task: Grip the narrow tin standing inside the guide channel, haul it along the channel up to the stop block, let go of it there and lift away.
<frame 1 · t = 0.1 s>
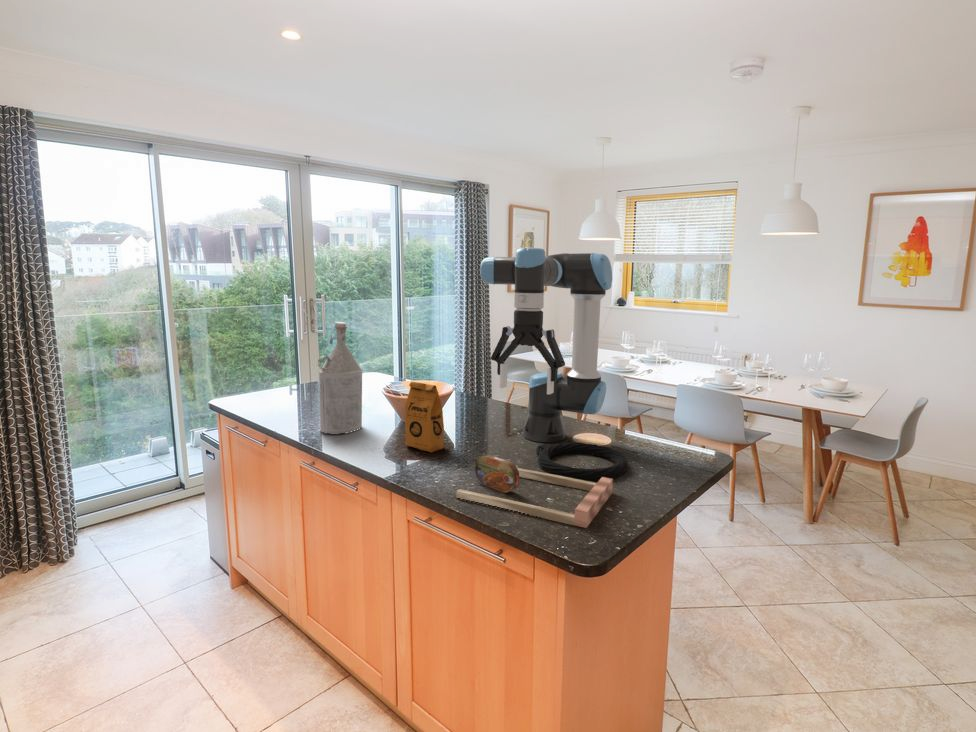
hand: (526, 390, 146), 28 cm above the worktop, tool pointing down, fingers open, 13 cm apart
tin: (496, 488, 153), on the worktop
grey jug bottle: (341, 430, 204), on the worktop
cable lock: (578, 466, 172), on the worktop
stop channel: (530, 494, 148), on the worktop
coffee package: (425, 448, 185), on the worktop
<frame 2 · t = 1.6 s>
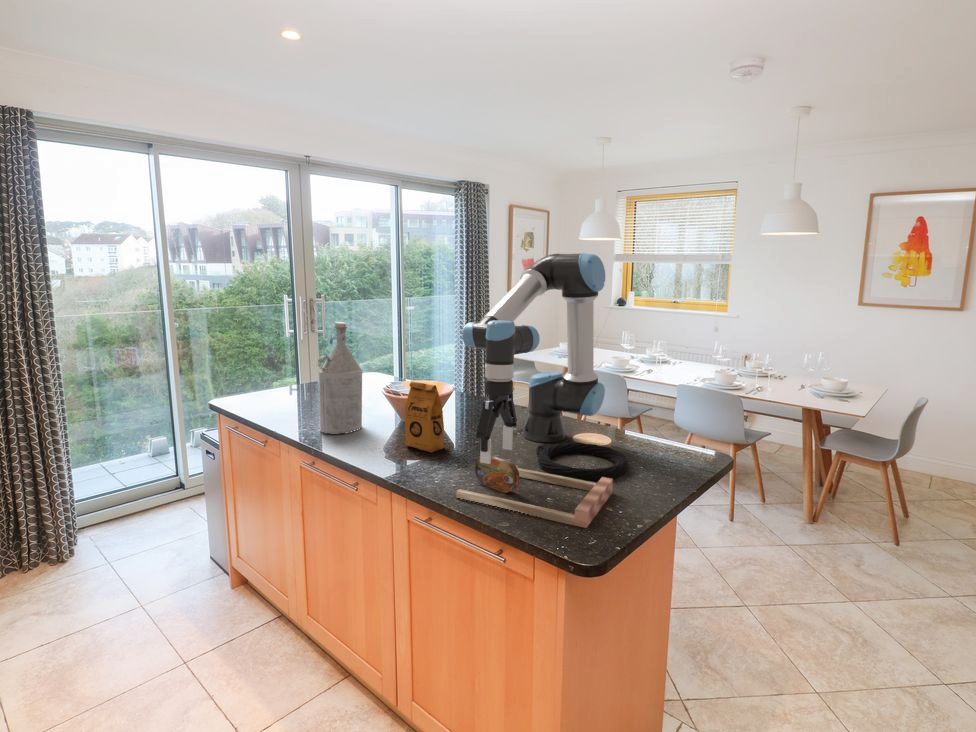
hand: (496, 455, 151), 9 cm above the worktop, tool pointing down, fingers open, 13 cm apart
nothing on the worktop moved.
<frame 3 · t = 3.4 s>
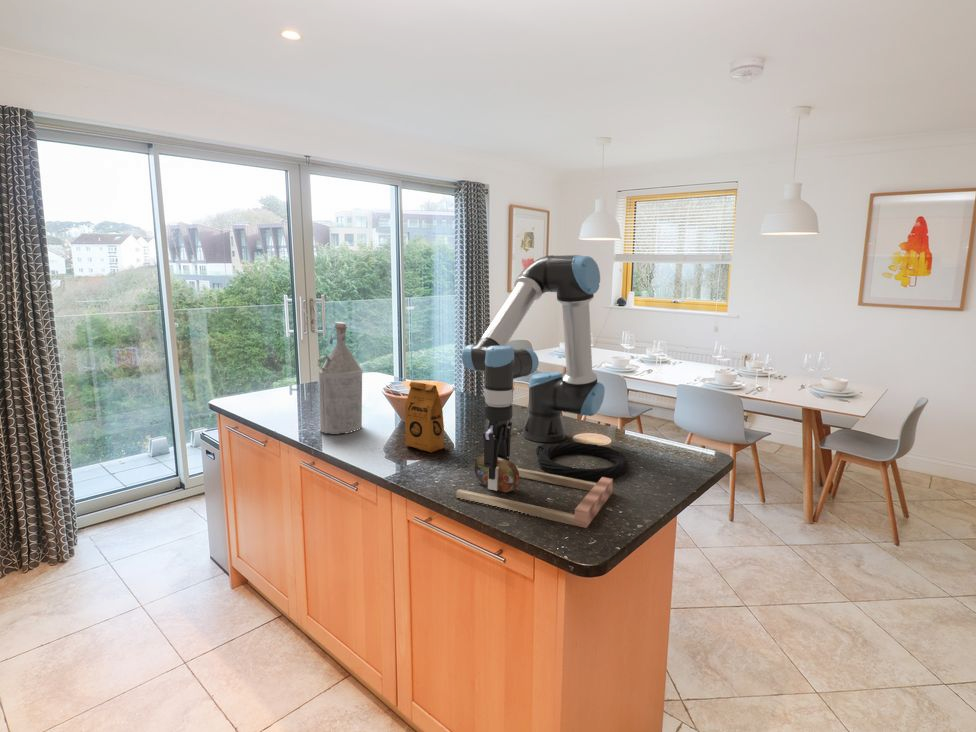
hand: (496, 486, 153), 0 cm above the worktop, tool pointing down, fingers closed on tin, 4 cm apart
tin: (497, 487, 153), on the worktop, touching gripper
everything else where it was.
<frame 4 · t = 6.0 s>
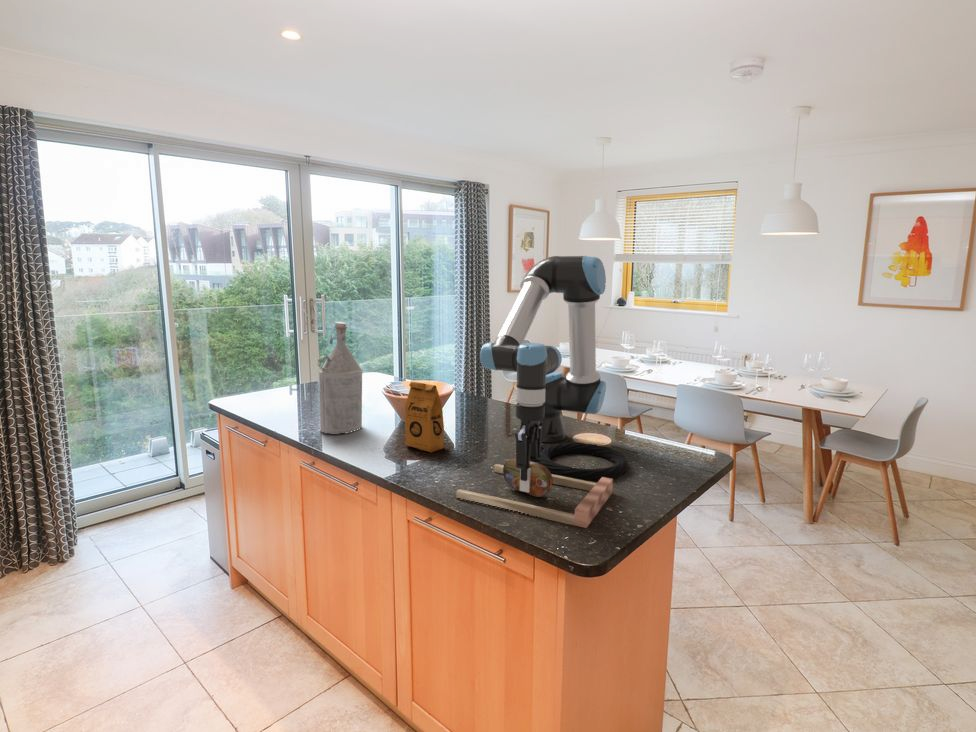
hand: (527, 488, 148), 2 cm above the worktop, tool pointing down, fingers closed on tin, 3 cm apart
tin: (527, 491, 149), point 1 cm above the worktop, touching gripper
everything else where it was.
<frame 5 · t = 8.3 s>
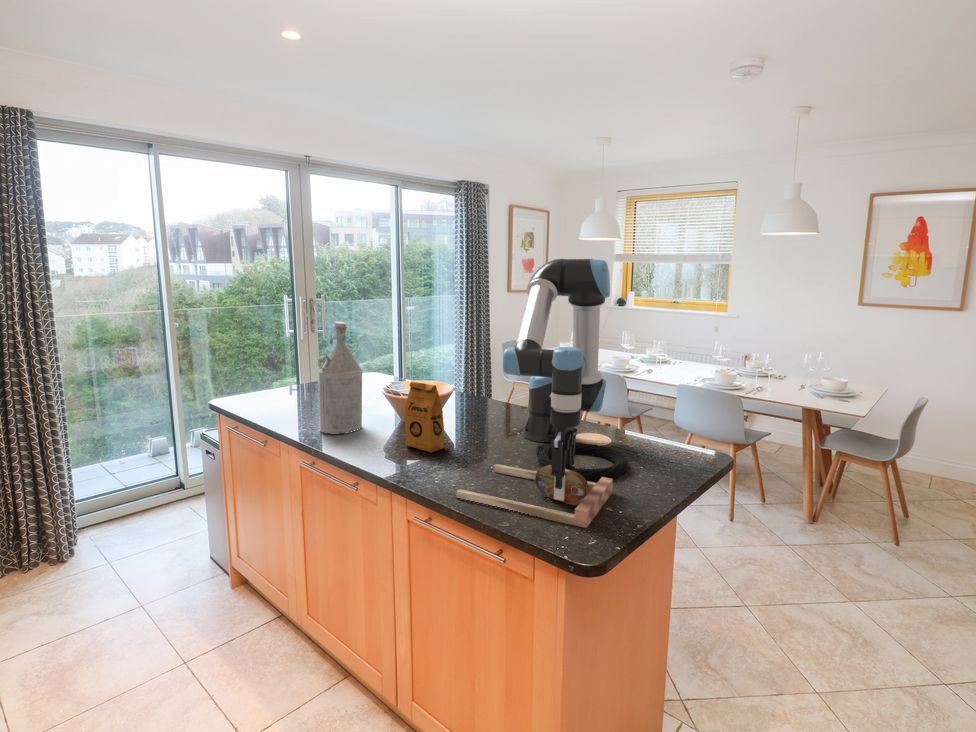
hand: (561, 496, 144), 1 cm above the worktop, tool pointing down, fingers closed on tin, 3 cm apart
tin: (561, 499, 145), on the worktop, touching gripper
everything else where it was.
when the fingers open (1 cm above the worktop, at t = 8.7 s): tin moves 5 cm, point 2 cm above the worktop.
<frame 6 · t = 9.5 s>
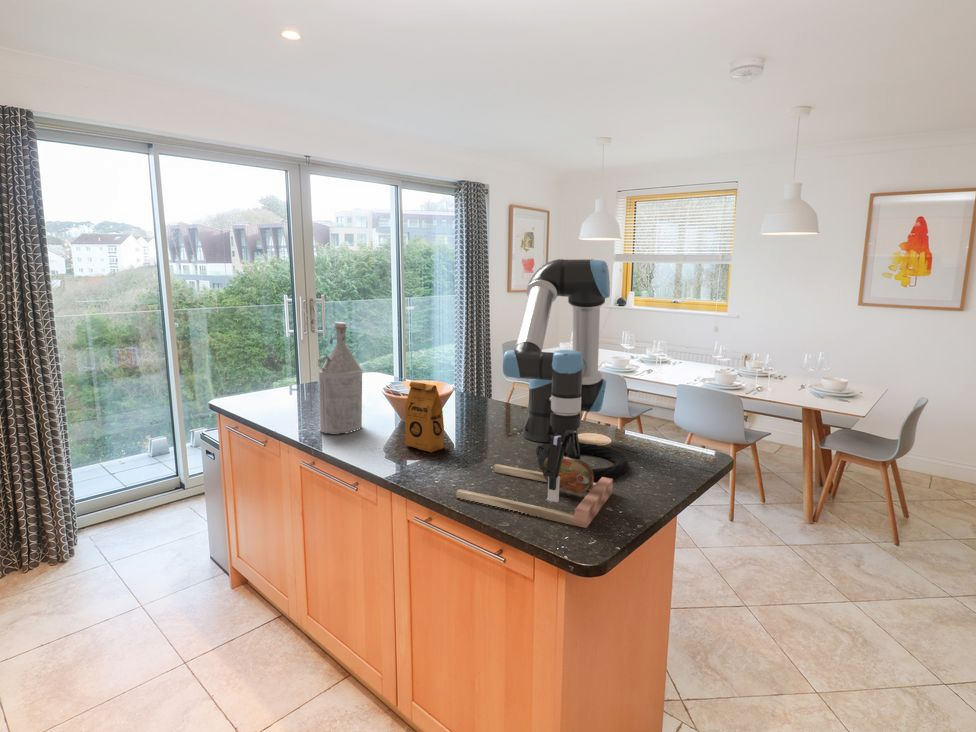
hand: (562, 491, 144), 3 cm above the worktop, tool pointing down, fingers open, 13 cm apart
tin: (567, 488, 149), point 2 cm above the worktop, touching gripper
everything else where it was.
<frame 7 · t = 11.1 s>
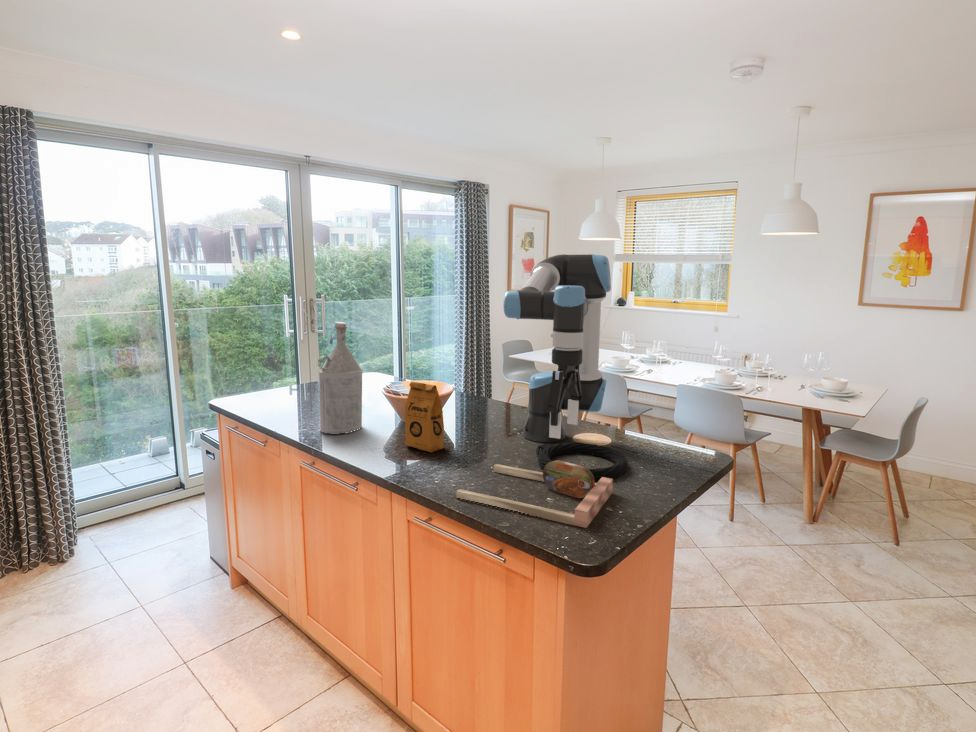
hand: (563, 430, 142), 19 cm above the worktop, tool pointing down, fingers open, 13 cm apart
tin: (568, 493, 150), on the worktop
everything else where it was.
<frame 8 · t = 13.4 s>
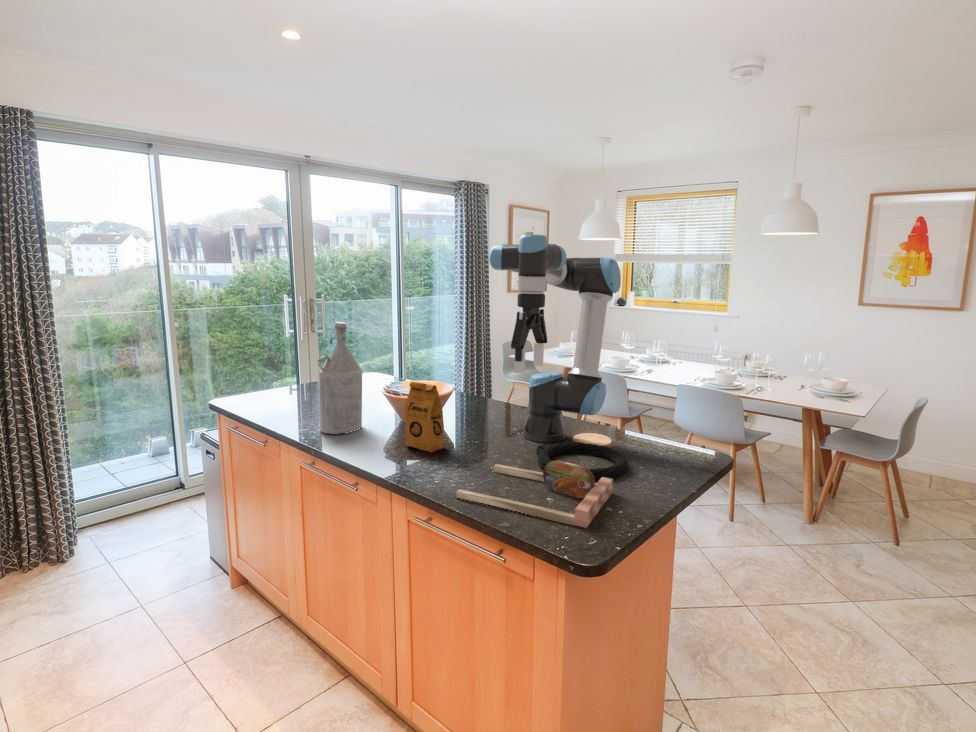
hand: (529, 369, 155), 32 cm above the worktop, tool pointing down, fingers open, 13 cm apart
nothing on the worktop moved.
at the end: tin inside the target area (6.0 cm from its centre), on the worktop; tin tilted 0°; the gripper is holding nothing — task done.
